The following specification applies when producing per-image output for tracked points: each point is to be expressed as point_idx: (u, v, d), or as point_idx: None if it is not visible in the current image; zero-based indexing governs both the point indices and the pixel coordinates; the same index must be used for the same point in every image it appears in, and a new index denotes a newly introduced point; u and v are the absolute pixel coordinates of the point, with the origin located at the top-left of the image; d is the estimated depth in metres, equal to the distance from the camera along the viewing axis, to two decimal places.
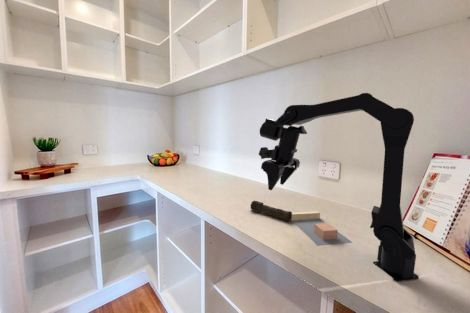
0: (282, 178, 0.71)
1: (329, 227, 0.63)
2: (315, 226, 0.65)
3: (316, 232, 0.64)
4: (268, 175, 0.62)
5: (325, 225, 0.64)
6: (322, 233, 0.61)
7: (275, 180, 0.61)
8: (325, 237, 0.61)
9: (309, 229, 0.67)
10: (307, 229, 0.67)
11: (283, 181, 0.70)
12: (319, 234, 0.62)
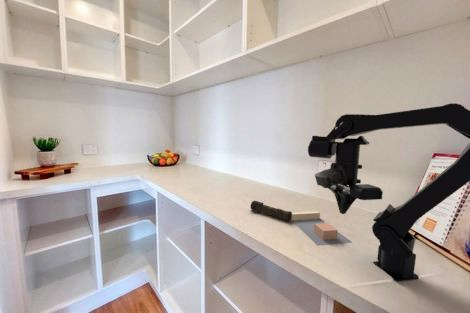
0: None
1: (329, 227, 0.63)
2: (315, 226, 0.65)
3: (316, 232, 0.64)
4: (345, 198, 0.53)
5: (325, 225, 0.64)
6: (322, 233, 0.61)
7: (353, 200, 0.54)
8: (325, 237, 0.61)
9: (309, 229, 0.67)
10: (307, 229, 0.67)
11: None
12: (319, 234, 0.62)
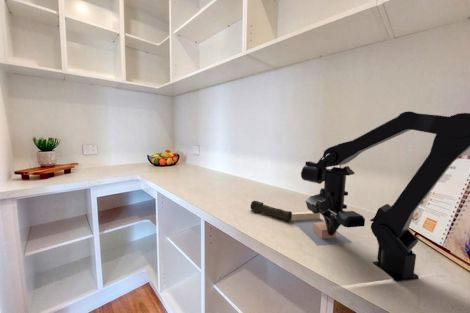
0: None
1: None
2: (314, 225, 0.65)
3: (315, 231, 0.65)
4: (332, 222, 0.58)
5: (324, 224, 0.65)
6: (321, 232, 0.61)
7: (339, 223, 0.59)
8: (324, 236, 0.61)
9: (309, 229, 0.67)
10: (307, 229, 0.67)
11: None
12: (318, 233, 0.63)
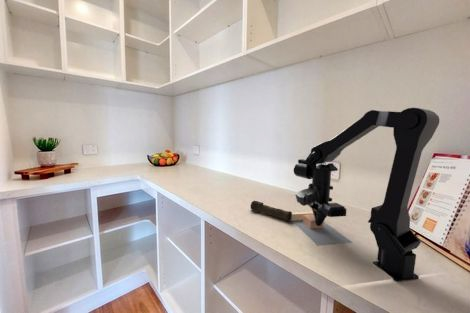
0: None
1: None
2: (304, 217, 0.72)
3: (305, 222, 0.71)
4: (319, 213, 0.65)
5: (313, 216, 0.71)
6: (310, 222, 0.68)
7: (326, 215, 0.65)
8: (312, 226, 0.68)
9: (309, 229, 0.67)
10: (307, 229, 0.67)
11: None
12: (307, 224, 0.70)
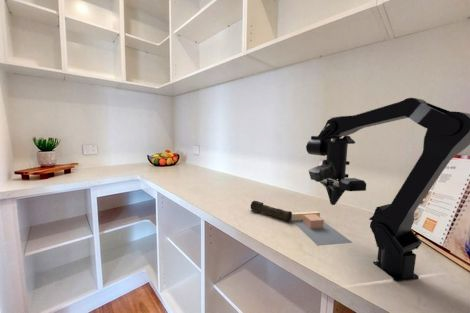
0: None
1: (317, 217, 0.70)
2: (304, 217, 0.72)
3: (305, 222, 0.71)
4: (335, 191, 0.60)
5: (313, 216, 0.71)
6: (310, 222, 0.68)
7: (341, 192, 0.61)
8: (312, 226, 0.68)
9: (309, 229, 0.67)
10: (307, 229, 0.67)
11: None
12: (307, 224, 0.70)
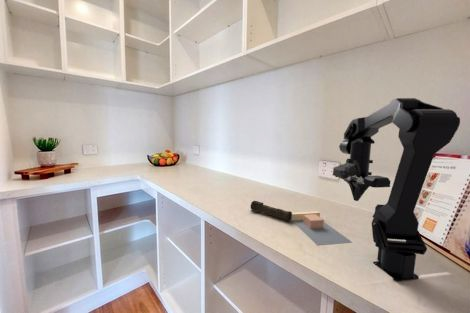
0: None
1: (317, 217, 0.70)
2: (304, 217, 0.72)
3: (305, 222, 0.71)
4: (359, 187, 0.64)
5: (313, 216, 0.71)
6: (310, 222, 0.68)
7: (365, 189, 0.65)
8: (312, 226, 0.68)
9: (309, 229, 0.67)
10: (307, 229, 0.67)
11: None
12: (307, 224, 0.70)
